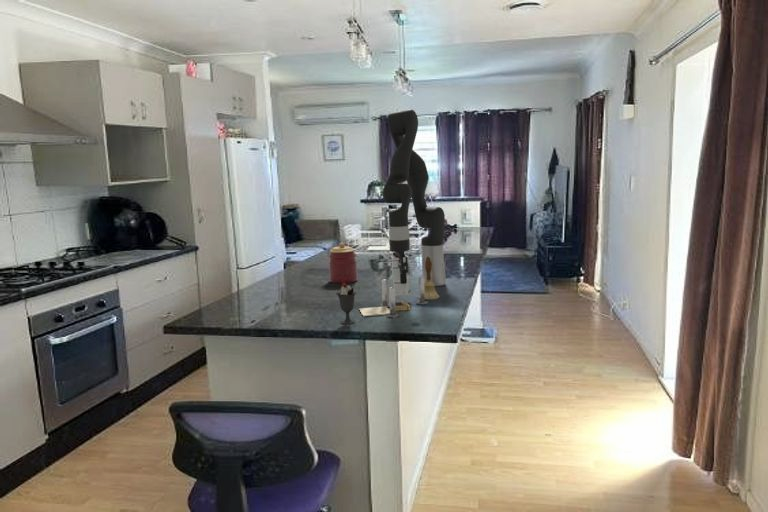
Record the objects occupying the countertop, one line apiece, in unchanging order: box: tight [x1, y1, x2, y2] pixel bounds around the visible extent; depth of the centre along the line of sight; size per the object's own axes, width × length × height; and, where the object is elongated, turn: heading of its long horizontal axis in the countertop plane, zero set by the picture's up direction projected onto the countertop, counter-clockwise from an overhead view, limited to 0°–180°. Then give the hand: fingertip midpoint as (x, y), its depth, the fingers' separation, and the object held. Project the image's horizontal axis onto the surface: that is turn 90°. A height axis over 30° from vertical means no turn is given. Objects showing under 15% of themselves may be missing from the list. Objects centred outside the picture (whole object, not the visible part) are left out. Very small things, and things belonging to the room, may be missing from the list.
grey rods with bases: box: [378, 276, 429, 318], centre depth 203 cm, size 18×18×10 cm
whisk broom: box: [417, 257, 440, 301], centre depth 220 cm, size 8×8×16 cm
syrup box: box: [391, 254, 411, 297], centre depth 213 cm, size 6×6×14 cm
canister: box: [327, 242, 359, 284], centre depth 257 cm, size 13×13×18 cm
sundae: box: [335, 278, 357, 325], centre depth 188 cm, size 7×7×15 cm
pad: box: [358, 306, 390, 317], centre depth 201 cm, size 10×10×1 cm
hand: (401, 281), depth 214 cm, fingers closed on syrup box, 7 cm apart
